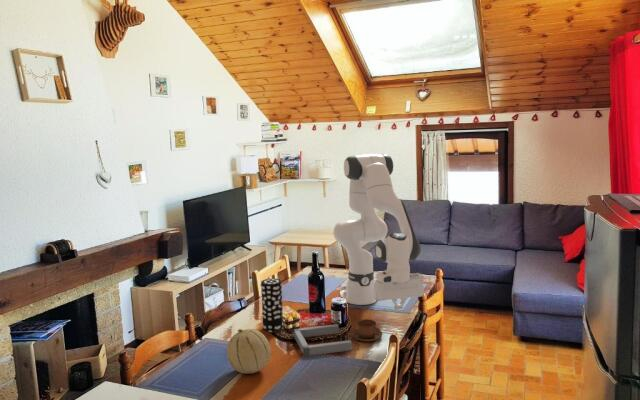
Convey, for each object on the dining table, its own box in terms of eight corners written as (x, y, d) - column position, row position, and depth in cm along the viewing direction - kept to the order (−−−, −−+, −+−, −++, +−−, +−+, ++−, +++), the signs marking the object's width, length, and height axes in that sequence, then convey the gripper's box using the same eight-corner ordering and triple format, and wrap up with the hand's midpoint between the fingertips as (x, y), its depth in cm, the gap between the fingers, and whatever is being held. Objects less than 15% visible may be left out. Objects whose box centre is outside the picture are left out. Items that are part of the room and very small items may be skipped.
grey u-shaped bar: (293, 336, 209) (293, 329, 208) (337, 331, 213) (337, 324, 212) (304, 356, 190) (304, 348, 190) (351, 350, 195) (351, 342, 194)
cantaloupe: (273, 378, 174) (272, 335, 172) (228, 384, 171) (226, 340, 169) (268, 359, 188) (266, 319, 186) (226, 364, 185) (224, 323, 183)
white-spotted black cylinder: (280, 332, 213) (278, 284, 210) (260, 331, 214) (258, 284, 212) (285, 325, 221) (283, 278, 218) (266, 324, 222) (264, 278, 220)
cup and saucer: (385, 333, 210) (385, 318, 209) (378, 345, 198) (378, 330, 198) (356, 330, 214) (355, 316, 213) (348, 342, 202) (347, 326, 202)
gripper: (419, 270, 211) (419, 303, 213) (371, 275, 206) (372, 309, 208) (426, 274, 205) (426, 308, 207) (377, 279, 200) (377, 314, 202)
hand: (398, 309), depth 207 cm, fingers closed
